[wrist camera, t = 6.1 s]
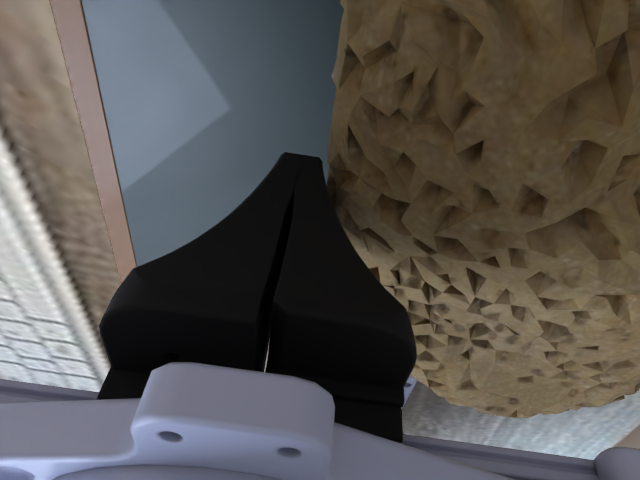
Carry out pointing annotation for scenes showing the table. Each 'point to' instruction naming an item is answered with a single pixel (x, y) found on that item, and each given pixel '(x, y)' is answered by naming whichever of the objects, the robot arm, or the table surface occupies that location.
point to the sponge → (498, 191)
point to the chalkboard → (194, 106)
